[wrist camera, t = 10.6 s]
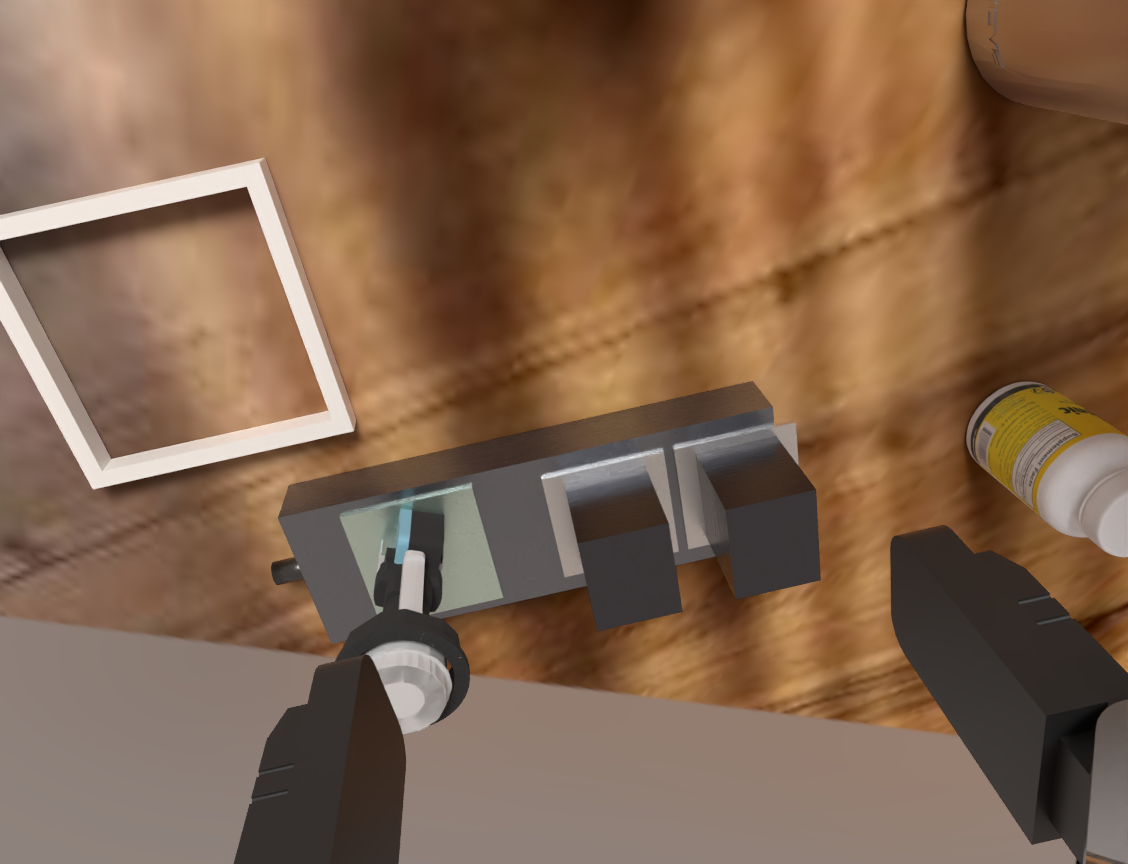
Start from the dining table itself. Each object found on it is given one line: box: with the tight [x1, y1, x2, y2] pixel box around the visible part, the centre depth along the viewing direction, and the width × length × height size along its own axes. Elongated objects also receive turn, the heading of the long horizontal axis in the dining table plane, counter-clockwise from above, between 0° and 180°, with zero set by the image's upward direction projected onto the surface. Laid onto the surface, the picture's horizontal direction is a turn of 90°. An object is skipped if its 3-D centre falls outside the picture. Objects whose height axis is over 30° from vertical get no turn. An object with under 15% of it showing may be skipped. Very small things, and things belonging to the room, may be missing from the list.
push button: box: [335, 509, 470, 734], centre depth 37 cm, size 7×5×10 cm
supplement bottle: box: [966, 382, 1128, 557], centre depth 41 cm, size 5×5×10 cm
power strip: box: [271, 381, 821, 644], centre depth 40 cm, size 27×8×8 cm, turn 101°
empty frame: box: [0, 158, 356, 489], centre depth 37 cm, size 13×13×1 cm
